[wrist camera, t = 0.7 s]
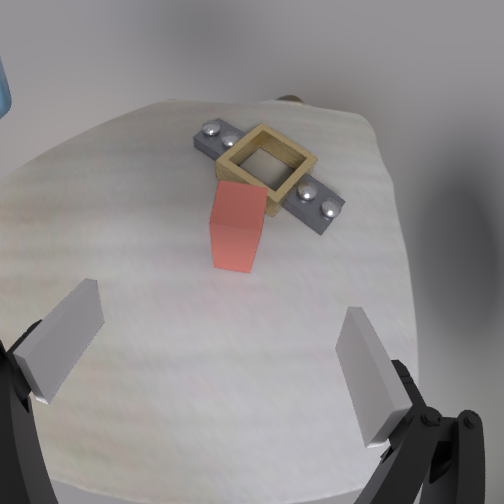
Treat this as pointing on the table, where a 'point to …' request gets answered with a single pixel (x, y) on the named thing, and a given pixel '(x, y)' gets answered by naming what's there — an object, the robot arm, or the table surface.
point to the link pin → (236, 225)
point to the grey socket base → (300, 182)
